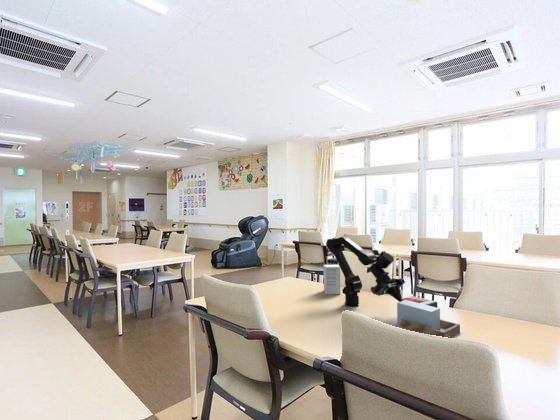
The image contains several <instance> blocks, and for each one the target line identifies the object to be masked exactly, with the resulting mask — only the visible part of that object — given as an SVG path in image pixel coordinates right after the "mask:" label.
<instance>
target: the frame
mask: <svg viewBox="0 0 560 420" xmlns="http://www.w3.org/2000/svg"><path fill="white" fill-rule="evenodd" d="M400 326H401V327H402V328H405V329H408V330H410V331H411V330H412V331H414V332H417V333H420V332H421V333H420V334H423V333H426V334H430V335H436V336H442V337H449V336H451V337H454V336H455V335H457V334H458V333H461V324H460V323H456V322H452V321H448V320H445V319H442V318H440V328H443V329H444V330H443V331H442V330H440V329H439V330H436V329H433V328H430V327H426V326H423V325H420V324H417V323H413V322H410V321H407V320H404V319H401V323H400ZM426 334H425V335H426ZM449 338H450V337H449Z"/></svg>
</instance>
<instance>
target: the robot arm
mask: <svg viewBox="0 0 560 420" xmlns="http://www.w3.org/2000/svg"><path fill="white" fill-rule="evenodd" d="M325 246H326V248H327V249H328V251H329V252H330V253H331V254H333V256H334V258H335V259H336V262H337V265H338V266H339V267H340V271H341V272H342V274H343V276H344V285H345V286H344V287H343V288H342V289H341V291H342V294H343V295H345V297H344V299H345V301H344V304H345V306H346V307H359V304H360V299H359V298H360V297H359V295H358V293H359V294H360V293H361V290H362V288H363V284H362V280H361V278H360V276H359V275H358V274H357V275H355V274H354V272H353V270H352V269H351V266H350V264H349V262H348V260H347V259H346V256H345V254H344V253H343V247H345V248H346V249H348V250H349V251H350V252H351V253H352V254H353V255H355V256H356V257H357V260H358V261H359V263H360V264H362V265H363V266H366V273H367V274H368V273H371V274H372V275H373V277H374V278H375V283H376V285H373V286H370V292H372V293H373V295H375V296H378V297H380V296H383V295H389V296H391V297H393V299H395V300H397V301H398V302H401V301H402V299H403V297H402V294H401V289H400V288H401V287H402V286H403V285H404V284H405V283H406V281H405V280H404V278H401V277H400V278H397V279H396V280H395V279H394V278H391V277H390V275H389V274H390V273H389V271H385V269H387V268H388V267H389V266H391V264H392V263H393V262H394V260H395V258H394V256H393V255H391V254H390V253H388V252H386V251H385V250H383V251H381V252H380V254H379V255H378V256H377V255H376V254H374V253H372V252H370V250H365V249H364V248H363V247H361V246H359V245H358V244H356V243H355V242H354V241H353V240H352V239H350V238H349V237H348V236H345V235H344V236H339V237H337V238H329V239H327V240H326V243H325ZM368 266H369V267H368ZM372 293H371V294H372Z"/></svg>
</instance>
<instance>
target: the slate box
mask: <svg viewBox="0 0 560 420" xmlns="http://www.w3.org/2000/svg"><path fill="white" fill-rule="evenodd" d="M440 308H441V307H438V308H436V307H432V306H428V305H424V304H420V303H416V302H412V301H408V300H404V301H401V302H399V301H398V302H396V319H397V321H396V322H397V323H398V324H401V319H404V320H407V321H410V322H413V323H417V324H420V325H423V326H426V327H430V328H433V329H436V330H439V331H440V330H441V327H440V319H441V309H440Z"/></svg>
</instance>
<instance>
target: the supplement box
mask: <svg viewBox="0 0 560 420" xmlns="http://www.w3.org/2000/svg"><path fill="white" fill-rule="evenodd" d="M322 269H323V292H324V293H325V295H341V268H340V266H339V264H323V268H322Z"/></svg>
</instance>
